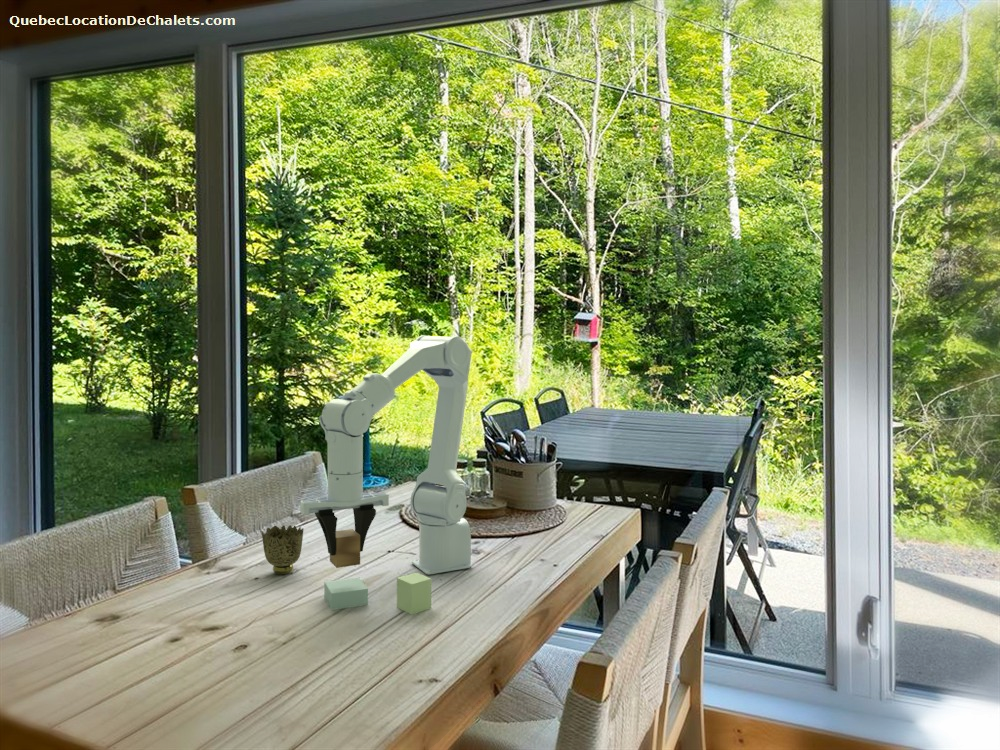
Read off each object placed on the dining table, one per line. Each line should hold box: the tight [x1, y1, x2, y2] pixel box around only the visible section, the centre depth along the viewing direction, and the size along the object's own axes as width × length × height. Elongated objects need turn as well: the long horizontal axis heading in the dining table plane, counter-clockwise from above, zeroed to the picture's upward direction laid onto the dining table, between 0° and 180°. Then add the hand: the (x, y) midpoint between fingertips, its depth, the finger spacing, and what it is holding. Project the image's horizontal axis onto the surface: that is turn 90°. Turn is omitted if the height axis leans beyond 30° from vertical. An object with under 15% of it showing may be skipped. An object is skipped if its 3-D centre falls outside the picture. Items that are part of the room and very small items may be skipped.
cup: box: [261, 524, 304, 575], centre depth 141 cm, size 8×7×8 cm
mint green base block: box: [323, 577, 369, 611], centre depth 128 cm, size 6×6×3 cm
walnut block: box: [329, 528, 361, 569], centre depth 128 cm, size 4×4×5 cm
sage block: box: [396, 572, 432, 615], centre depth 125 cm, size 4×4×5 cm
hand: (345, 551), depth 127 cm, fingers closed on walnut block, 4 cm apart
